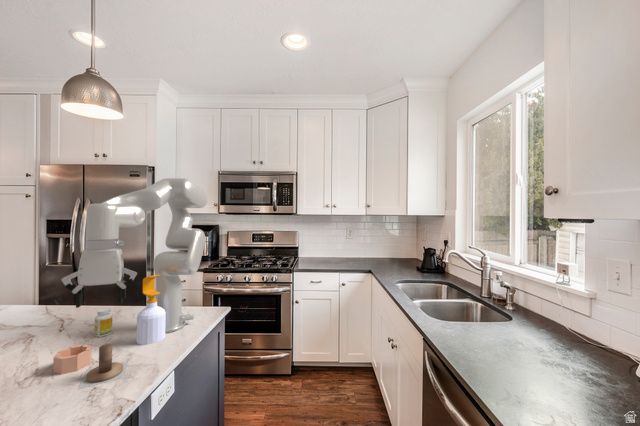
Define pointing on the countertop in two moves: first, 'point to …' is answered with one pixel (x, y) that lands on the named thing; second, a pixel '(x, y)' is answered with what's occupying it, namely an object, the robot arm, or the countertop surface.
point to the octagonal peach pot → (72, 359)
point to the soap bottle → (150, 316)
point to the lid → (104, 366)
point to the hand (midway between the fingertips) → (100, 303)
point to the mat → (87, 384)
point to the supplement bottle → (103, 323)
